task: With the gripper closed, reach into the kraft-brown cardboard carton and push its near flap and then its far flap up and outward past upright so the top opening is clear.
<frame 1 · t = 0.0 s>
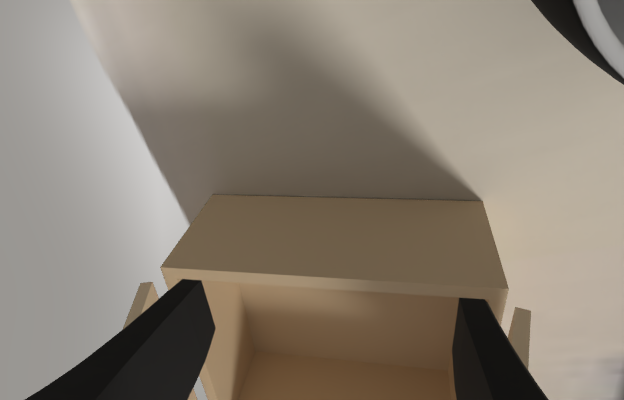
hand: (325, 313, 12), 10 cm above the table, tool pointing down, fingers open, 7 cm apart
carton: (344, 289, 25), on the table
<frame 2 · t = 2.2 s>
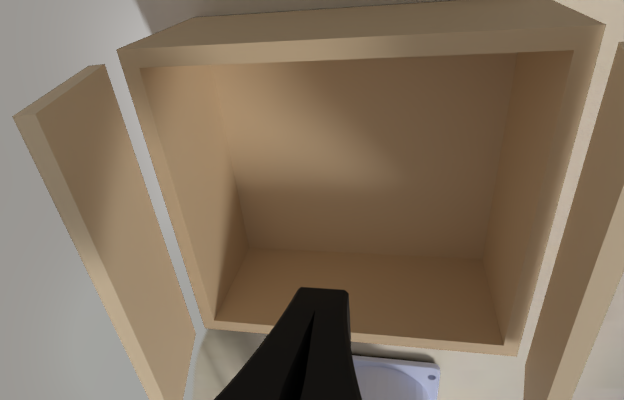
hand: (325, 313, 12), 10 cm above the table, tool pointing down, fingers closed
carton: (357, 152, 20), on the table
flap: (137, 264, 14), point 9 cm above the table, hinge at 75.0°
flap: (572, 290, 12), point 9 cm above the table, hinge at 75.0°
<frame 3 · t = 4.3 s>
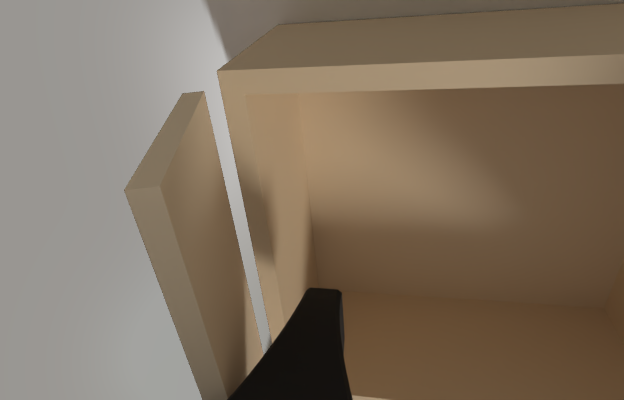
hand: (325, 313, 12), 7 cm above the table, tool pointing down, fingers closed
carton: (464, 184, 17), on the table
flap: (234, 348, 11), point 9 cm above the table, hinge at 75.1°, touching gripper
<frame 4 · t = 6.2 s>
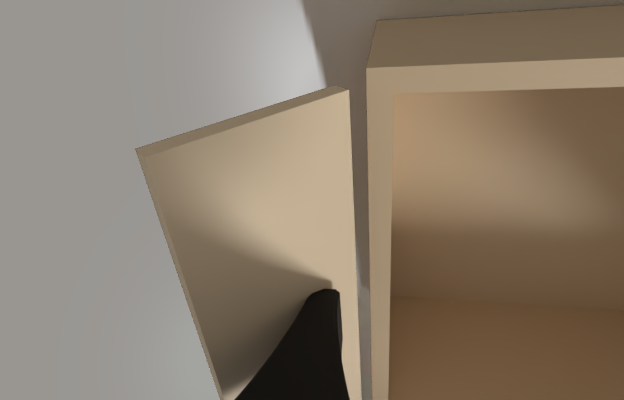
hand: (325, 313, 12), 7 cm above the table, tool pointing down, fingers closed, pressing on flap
carton: (558, 187, 16), on the table
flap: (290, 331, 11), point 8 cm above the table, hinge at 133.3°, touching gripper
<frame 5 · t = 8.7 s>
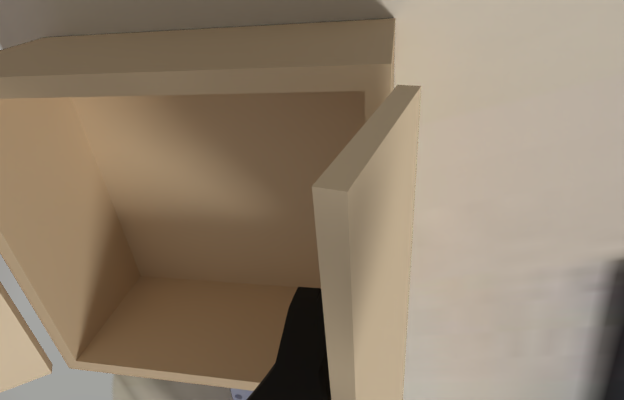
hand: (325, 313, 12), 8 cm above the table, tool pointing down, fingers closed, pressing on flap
carton: (235, 180, 19), on the table
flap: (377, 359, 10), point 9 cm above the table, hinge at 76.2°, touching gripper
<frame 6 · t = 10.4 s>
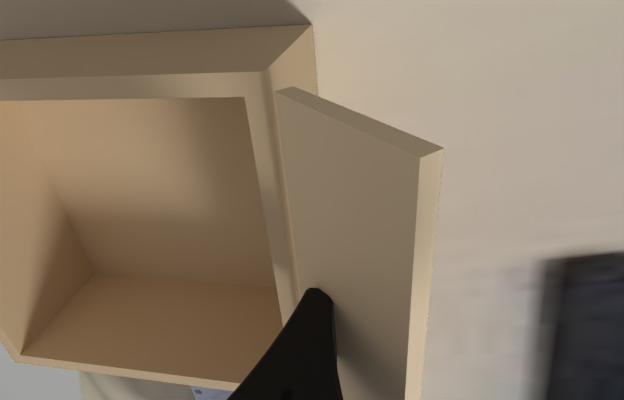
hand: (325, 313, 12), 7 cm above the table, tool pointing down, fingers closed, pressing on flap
carton: (176, 180, 20), on the table
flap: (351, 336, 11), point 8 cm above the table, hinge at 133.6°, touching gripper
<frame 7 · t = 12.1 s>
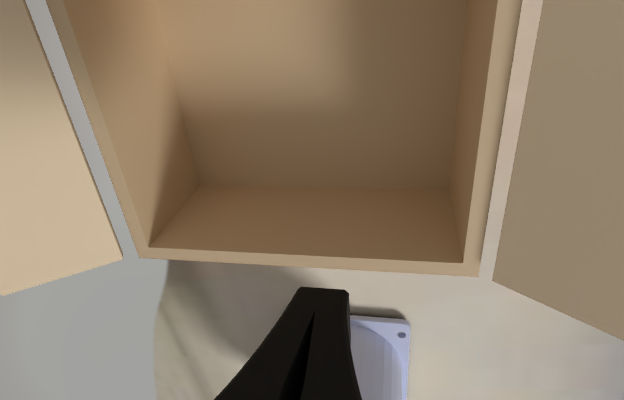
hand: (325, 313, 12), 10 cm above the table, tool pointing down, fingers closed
carton: (309, 66, 19), on the table
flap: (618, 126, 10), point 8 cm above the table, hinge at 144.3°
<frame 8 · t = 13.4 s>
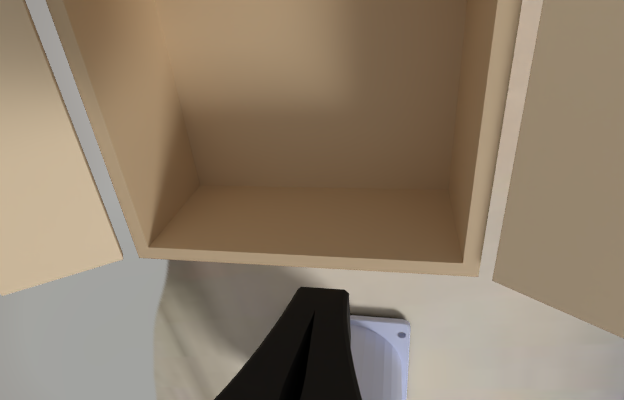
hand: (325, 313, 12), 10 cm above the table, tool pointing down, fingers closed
carton: (309, 66, 19), on the table
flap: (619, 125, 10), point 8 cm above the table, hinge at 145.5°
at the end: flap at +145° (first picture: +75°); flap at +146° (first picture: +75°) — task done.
